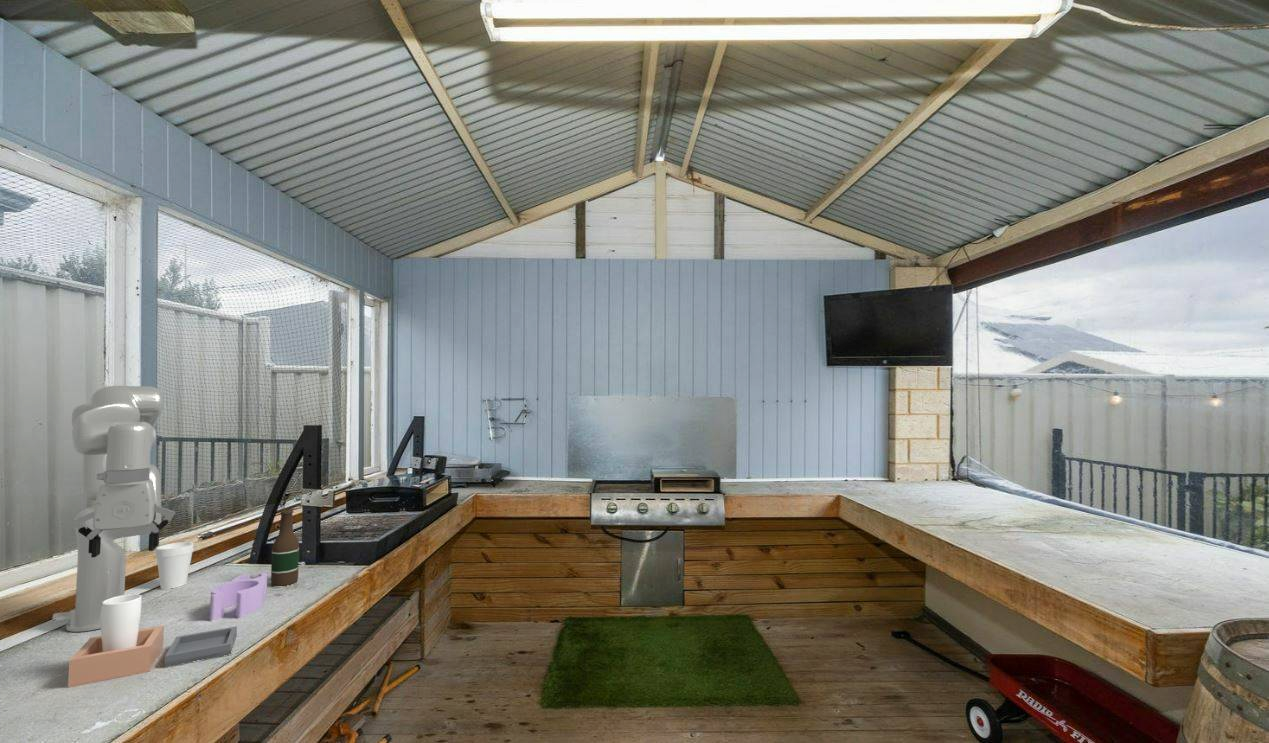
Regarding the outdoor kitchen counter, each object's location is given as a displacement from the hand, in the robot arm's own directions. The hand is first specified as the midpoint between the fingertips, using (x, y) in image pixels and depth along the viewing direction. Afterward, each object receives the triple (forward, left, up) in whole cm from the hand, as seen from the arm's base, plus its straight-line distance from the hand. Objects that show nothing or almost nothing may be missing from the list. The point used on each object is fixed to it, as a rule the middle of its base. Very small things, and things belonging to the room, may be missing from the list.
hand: (124, 552), depth 125 cm
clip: (+20, +31, -26) cm, 45 cm away
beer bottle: (+30, +48, -26) cm, 62 cm away
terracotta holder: (0, 0, -25) cm, 25 cm away
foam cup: (-1, +64, -26) cm, 69 cm away
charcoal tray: (+15, 0, -25) cm, 29 cm away
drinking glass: (0, 0, -26) cm, 26 cm away
